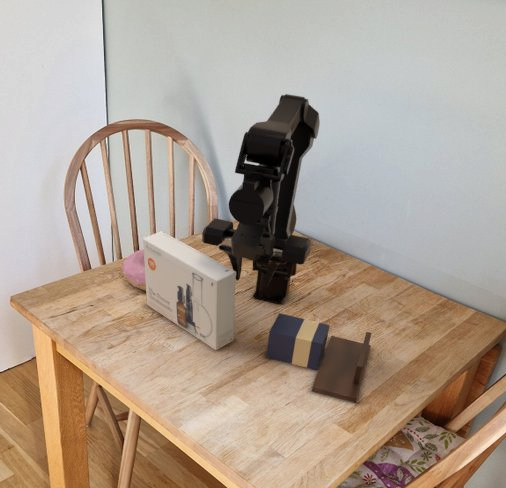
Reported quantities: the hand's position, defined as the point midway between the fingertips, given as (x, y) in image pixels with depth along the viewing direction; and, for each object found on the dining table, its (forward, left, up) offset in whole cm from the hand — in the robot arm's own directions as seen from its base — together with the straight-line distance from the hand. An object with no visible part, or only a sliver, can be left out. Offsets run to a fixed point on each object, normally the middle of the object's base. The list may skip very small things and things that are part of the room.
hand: (252, 282), depth 113 cm
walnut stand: (+20, -1, -13) cm, 23 cm away
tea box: (+10, 0, -10) cm, 14 cm away
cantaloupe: (-8, +44, -13) cm, 47 cm away
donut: (-25, +15, -13) cm, 32 cm away
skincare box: (-12, +1, -13) cm, 18 cm away
